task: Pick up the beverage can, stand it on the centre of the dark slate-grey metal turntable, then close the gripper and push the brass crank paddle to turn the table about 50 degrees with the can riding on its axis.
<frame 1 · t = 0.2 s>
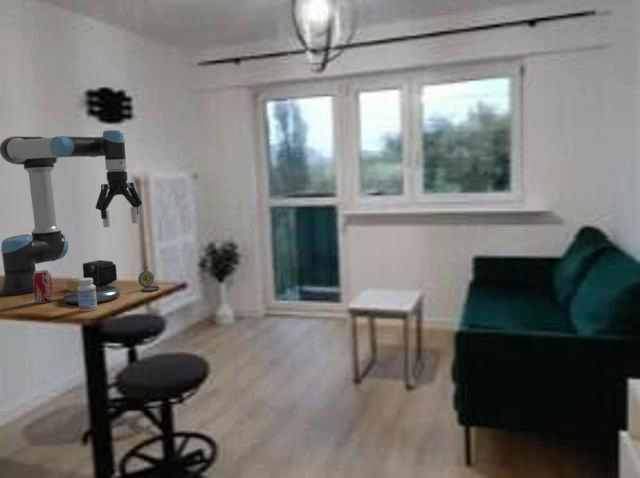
hand: (121, 225, 220), 28 cm above the table, fingers open, 13 cm apart
turntable: (89, 289, 216), point 4 cm above the table, hinge at 0.0°
pill bottle: (88, 310, 200), on the table
camera: (101, 287, 240), on the table
beverage can: (44, 302, 215), on the table
pocket watch: (150, 290, 230), on the table
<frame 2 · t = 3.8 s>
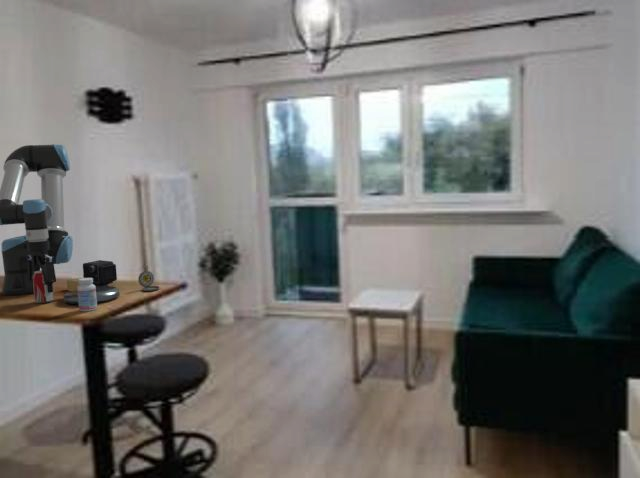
hand: (44, 299, 215), 1 cm above the table, fingers closed on beverage can, 6 cm apart
beverage can: (44, 302, 215), on the table, touching gripper
everything else where it was.
when the fingers open (5 cm above the table, at t = 8.4 s): beverage can stays where it is, resting on turntable.
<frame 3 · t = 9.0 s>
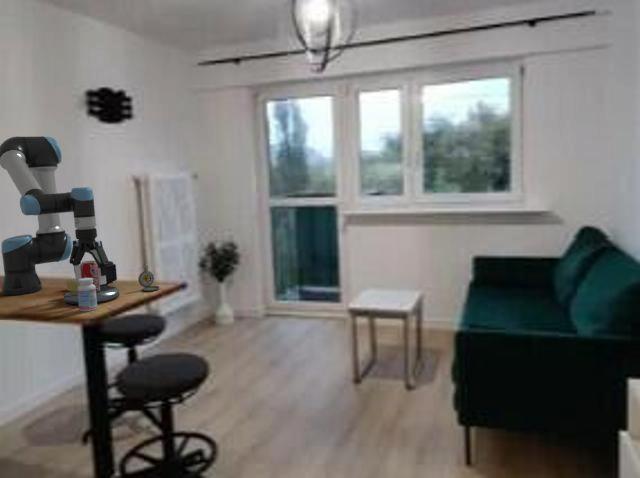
hand: (91, 283, 215), 6 cm above the table, fingers open, 13 cm apart
turntable: (89, 289, 216), point 4 cm above the table, hinge at 0.0°, touching beverage can, gripper
beverage can: (91, 292, 216), point 3 cm above the table, touching turntable
everything else where it was.
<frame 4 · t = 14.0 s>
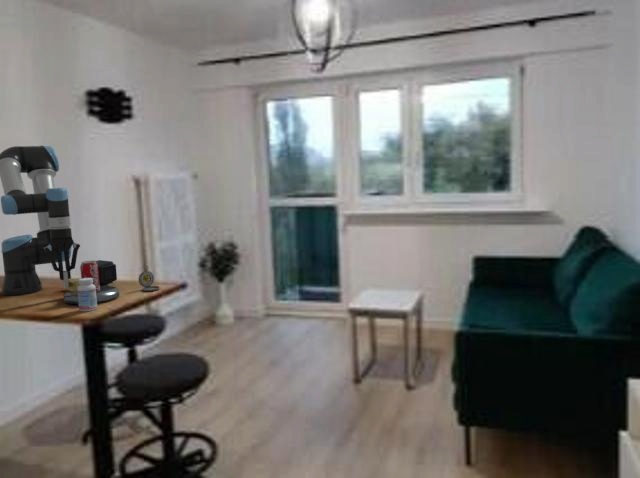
hand: (66, 287, 219), 4 cm above the table, fingers closed
nothing on the table moved.
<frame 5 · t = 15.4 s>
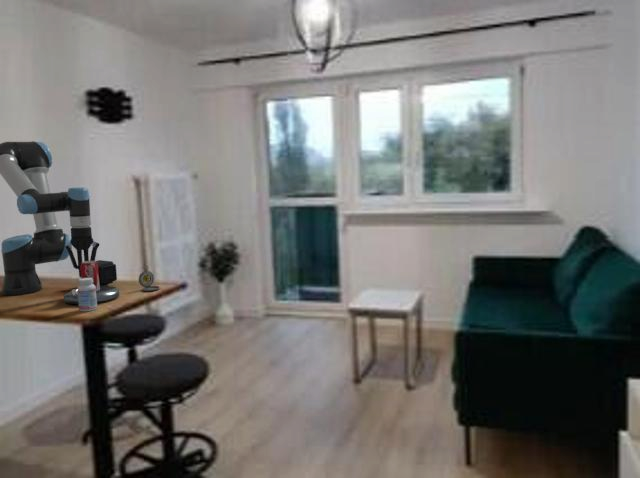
hand: (85, 285, 224), 4 cm above the table, fingers closed
turntable: (91, 289, 217), point 4 cm above the table, hinge at 35.4°, touching beverage can, gripper
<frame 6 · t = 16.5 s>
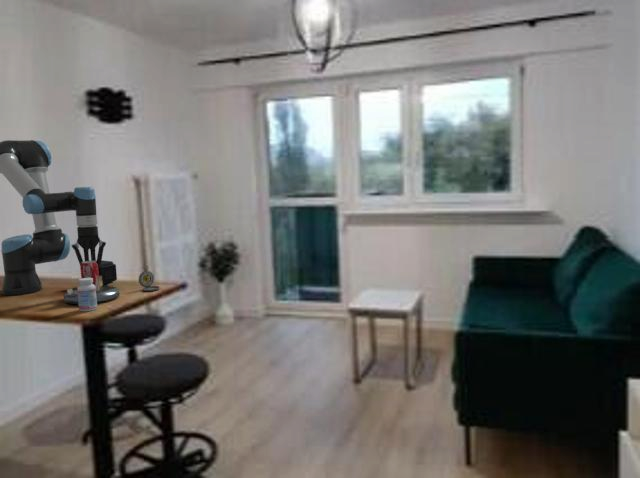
hand: (92, 284, 225), 4 cm above the table, fingers closed
turntable: (92, 288, 217), point 4 cm above the table, hinge at 52.6°, touching beverage can, gripper
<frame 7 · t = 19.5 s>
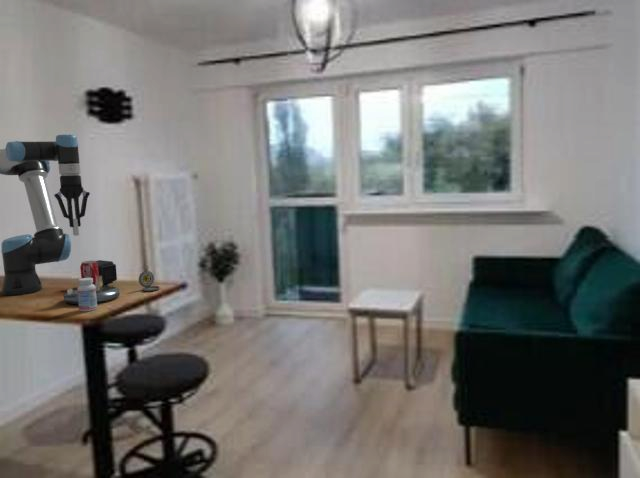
hand: (76, 235, 220), 24 cm above the table, fingers closed
turntable: (92, 288, 217), point 4 cm above the table, hinge at 52.8°, touching beverage can
at the end: beverage can 0.1 cm from the turntable (horizontally); beverage can tilted 0°; turntable at +53° (first picture: +0°) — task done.
